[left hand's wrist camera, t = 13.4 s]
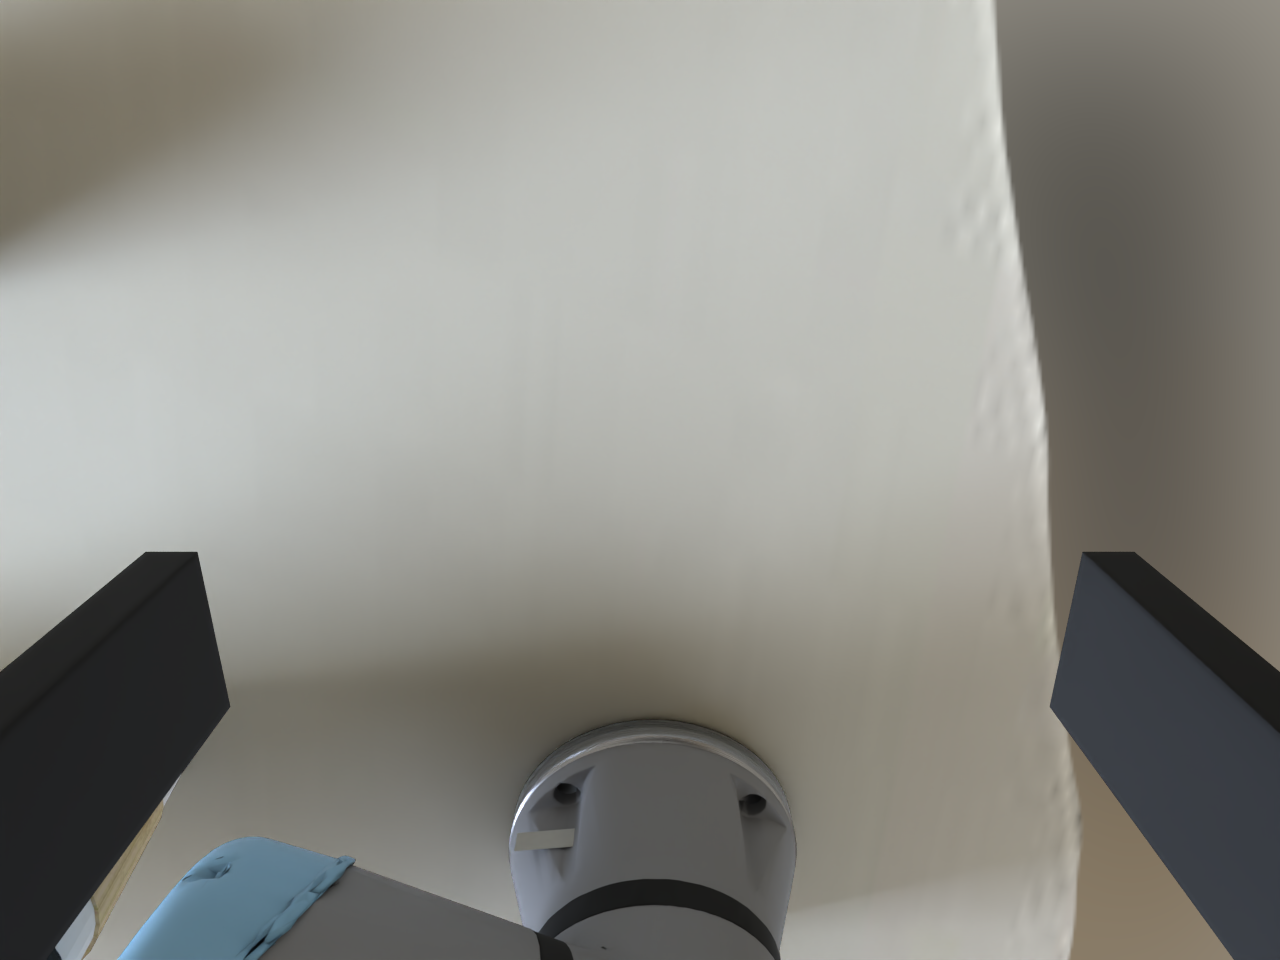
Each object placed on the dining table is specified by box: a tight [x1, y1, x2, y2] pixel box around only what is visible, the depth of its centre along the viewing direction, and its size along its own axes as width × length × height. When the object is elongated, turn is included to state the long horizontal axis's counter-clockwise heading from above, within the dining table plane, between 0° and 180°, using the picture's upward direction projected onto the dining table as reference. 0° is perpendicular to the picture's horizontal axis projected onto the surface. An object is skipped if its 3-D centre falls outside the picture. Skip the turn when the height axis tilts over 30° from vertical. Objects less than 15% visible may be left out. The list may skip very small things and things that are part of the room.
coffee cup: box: [46, 775, 181, 960], centre depth 38 cm, size 10×10×15 cm
